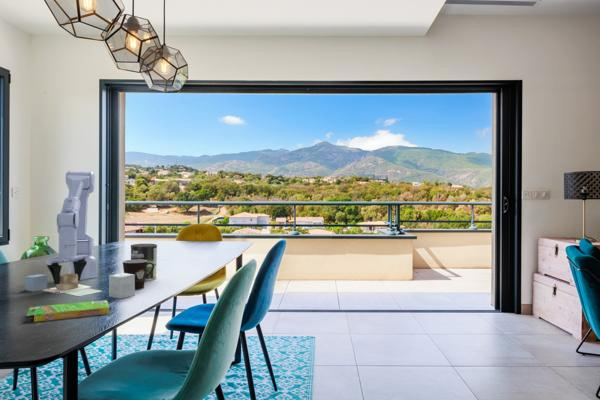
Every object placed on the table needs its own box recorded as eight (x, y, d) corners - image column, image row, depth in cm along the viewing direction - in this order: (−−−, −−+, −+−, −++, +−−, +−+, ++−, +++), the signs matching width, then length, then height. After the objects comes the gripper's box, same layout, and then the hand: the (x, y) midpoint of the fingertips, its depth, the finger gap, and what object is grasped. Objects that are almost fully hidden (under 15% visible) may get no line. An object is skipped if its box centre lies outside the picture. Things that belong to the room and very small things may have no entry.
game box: (108, 317, 123) (25, 323, 113) (106, 309, 131) (29, 314, 122) (109, 307, 123) (26, 311, 113) (107, 299, 131) (30, 303, 122)
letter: (76, 284, 162) (76, 283, 162) (92, 287, 157) (92, 286, 157) (41, 290, 151) (41, 289, 151) (57, 293, 146) (57, 293, 146)
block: (69, 286, 158) (69, 272, 158) (77, 287, 155) (77, 274, 155) (56, 288, 153) (56, 275, 153) (64, 290, 151) (64, 276, 151)
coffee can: (144, 282, 167) (144, 246, 167) (124, 280, 171) (125, 245, 171) (162, 277, 177) (162, 244, 177) (142, 275, 181) (143, 243, 181)
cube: (39, 287, 155) (39, 274, 155) (47, 289, 153) (47, 275, 153) (25, 290, 151) (24, 276, 151) (33, 291, 148) (32, 277, 148)
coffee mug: (123, 291, 151) (123, 263, 151) (121, 286, 159) (121, 260, 159) (157, 288, 156) (157, 261, 156) (153, 284, 164) (153, 258, 164)
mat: (87, 288, 155) (87, 288, 155) (102, 291, 150) (102, 291, 150) (63, 293, 147) (63, 292, 147) (78, 296, 142) (78, 296, 142)
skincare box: (135, 295, 145) (135, 274, 145) (119, 299, 140) (119, 277, 140) (123, 293, 148) (124, 272, 148) (108, 296, 143) (108, 275, 143)
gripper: (53, 247, 146) (53, 286, 146) (92, 243, 158) (92, 280, 158) (42, 246, 149) (42, 284, 149) (81, 242, 162) (81, 278, 162)
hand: (67, 282), depth 154 cm, fingers open, 7 cm apart
